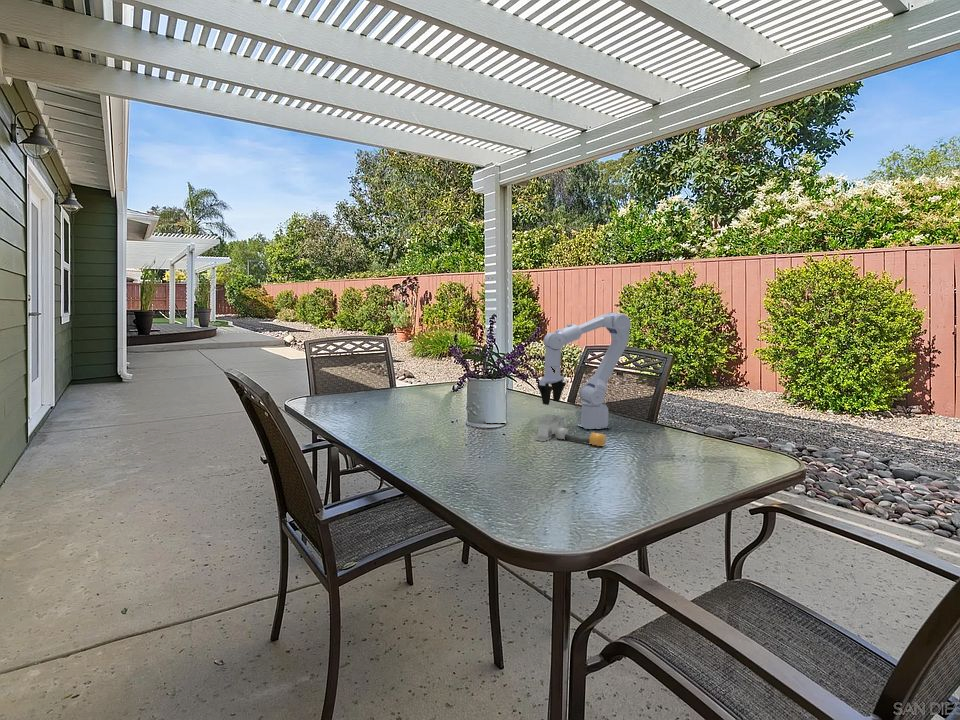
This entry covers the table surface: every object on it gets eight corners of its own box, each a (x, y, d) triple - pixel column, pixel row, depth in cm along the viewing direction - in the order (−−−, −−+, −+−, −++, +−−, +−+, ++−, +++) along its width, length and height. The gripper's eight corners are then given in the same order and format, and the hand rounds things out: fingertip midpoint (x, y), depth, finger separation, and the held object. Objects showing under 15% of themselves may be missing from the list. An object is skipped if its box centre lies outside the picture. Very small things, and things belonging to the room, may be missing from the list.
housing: (533, 440, 187) (534, 421, 186) (557, 431, 199) (557, 414, 199) (544, 442, 185) (544, 423, 184) (566, 433, 197) (567, 415, 196)
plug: (555, 439, 188) (555, 427, 187) (560, 437, 191) (561, 425, 191) (600, 448, 178) (601, 435, 178) (605, 445, 182) (606, 433, 181)
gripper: (552, 363, 207) (551, 398, 209) (532, 366, 196) (531, 404, 198) (569, 364, 203) (568, 401, 205) (549, 368, 192) (548, 406, 193)
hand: (551, 402), depth 201 cm, fingers open, 7 cm apart
